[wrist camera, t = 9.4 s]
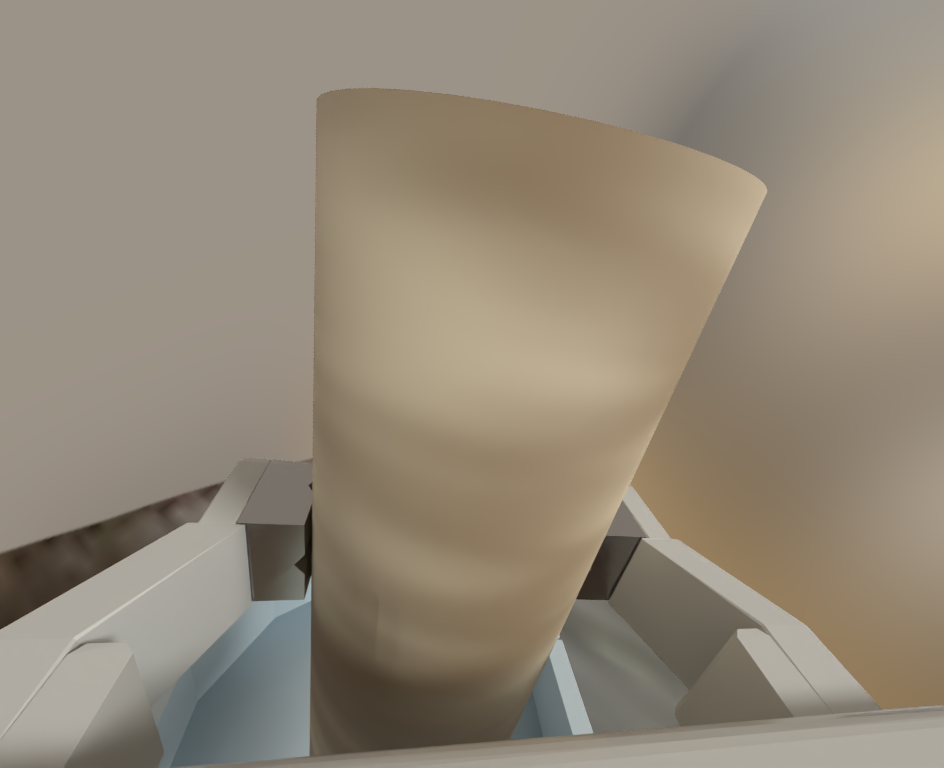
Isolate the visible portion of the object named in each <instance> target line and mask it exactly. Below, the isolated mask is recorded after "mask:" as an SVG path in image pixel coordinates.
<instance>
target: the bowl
mask: <svg viewBox="0 0 944 768" xmlns="http://www.w3.org/2000/svg"><path fill="white" fill-rule="evenodd" d="M559 638H560V636H558V638H557V640H556V642H555V645H554V647H553V649H552V651H551V653H550V655H549V657H548V660H547V662H546V664H545V666H544V668H543V670H542V672H541V674H540V677H539V679H538V681H537V683H536V685H535V687H534V689H533V691H532V694H531V696H530V698H529V700H528V702H527V704H526V706H525V708H524V711H523V713H522V715H521V717H520V719H519V721H518V723H517V726H516V728H515V730H514V732H513V734H512V736H511V738H510V740H516V739H529V738H541V737H554V736H566V735H578V734H591V733H593V731H592V728H591V725H590V722H589V719H588V716H587V713H586V710H585V707H584V704H583V701H582V698H581V695H580V692H579V689H578V686H577V683H576V680H575V677H574V674H573V671H572V668H571V665H570V662H569V659H568V656H567V653H566V650H565V647H564V645H563V642H562V640H559ZM310 661H311V578H310V582H309V585H308V589H307V592H306V596H305V599H304V600H280V601H252V605H251V606H250V607H249V608H248V609H247V610H246V611H245V612H244V613H243V614H242V615H241V616H240V617H239V618H238V619H237V620H236V621H235V622H234V623H233V624H232V625H231V626H230V627H229V628H228V629H227V630H226V631H225V632H224V633H223V634H222V635H221V636H220V637H219V638H218V639H217V640H216V641H215V642H214V643H213V644H212V645H211V646H210V647H209V648H208V649H207V650H206V651H205V652H204V653H203V654H202V655H201V656H200V657H199V658H198V659H197V660H196V661H195V663H194V664H193V665H192V666H191V667H190V668H189V669H188V670H187V671H186V672H185V673H184V674H183V675H182V676H181V677H180V678H179V679H178V680H177V681H176V682H175V683H174V684H173V685H172V686H171V687H170V688H169V689H168V690H167V691H166V692H165V693H164V694H163V695H162V696H161V697H160V698H159V699H158V700H157V701H156V702H155V703H154V704H153V705H152V706H151V707H150V708H151V711H152V714H153V717H154V720H155V724H156V727H157V730H158V733H159V736H160V739H161V742H162V745H163V749H164V752H165V753H164V755H163V757H162V759H161V762H160V764H159V766H158V768H170V767H182V766H195V765H207V764H219V763H232V762H244V761H256V760H269V759H281V758H293V757H306V756H309V752H310Z"/></svg>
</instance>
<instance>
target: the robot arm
mask: <svg viewBox="0 0 944 768" xmlns="http://www.w3.org/2000/svg"><path fill="white" fill-rule="evenodd" d="M312 479H313V463H304V462H292V461H281V460H273V461H272V460H265V459H253V458H244V459H242V460H241V461H239V462H238V463H237V465H236V466H235V468H234V469H233V471H232V472H231V474H230V475H229V477H228V478H227V479H226V481H225V482H224V484H223V485H222V487H221V488H220V490H219V491H218V493H217V494H216V496H215V497H214V499H213V500H212V502H211V503H210V505H209V506H208V508H207V509H206V511H205V512H204V514H203V515H202V517H201V518H200V520H199V521H198V523H186V524H184V525H183V526H181V527H179V528H177V529H176V530H174V531H172V532H170V533H169V534H167V535H165V536H163V537H162V538H160V539H158V540H156V541H155V542H153V543H151V544H149V545H148V546H146V547H144V548H142V549H141V550H139V551H137V552H135V553H134V554H132V555H130V556H128V557H127V558H125V559H123V560H121V561H120V562H118V563H116V564H114V565H113V566H111V567H109V568H107V569H106V570H104V571H102V572H100V573H99V574H97V575H95V576H93V577H92V578H90V579H88V580H86V581H85V582H83V583H81V584H79V585H78V586H76V587H74V588H72V589H71V590H69V591H67V592H65V593H64V594H62V595H60V596H58V597H57V598H55V599H53V600H51V601H50V602H48V603H46V604H44V605H43V606H41V607H39V608H37V609H36V610H34V611H32V612H30V613H29V614H27V615H25V616H23V617H22V618H20V619H18V620H16V621H15V622H13V623H11V624H9V625H8V626H6V627H4V628H2V629H1V630H0V768H158V766H159V764H160V762H161V759H162V757H163V755H164V753H165V752H164V749H163V745H162V742H161V739H160V736H159V733H158V730H157V727H156V724H155V720H154V717H153V714H152V711H151V708H150V707H151V706H152V705H153V704H154V703H155V702H156V701H157V700H158V699H159V698H160V697H161V696H162V695H163V694H164V693H165V692H166V691H167V690H168V689H169V688H170V687H171V686H172V685H173V684H174V683H175V682H176V681H177V680H178V679H179V678H180V677H181V676H182V675H183V674H184V673H185V672H186V671H187V670H188V669H189V668H190V667H191V666H192V665H193V664H194V663H195V661H196V660H197V659H198V658H199V657H200V656H201V655H202V654H203V653H204V652H205V651H206V650H207V649H208V648H209V647H210V646H211V645H212V644H213V643H214V642H215V641H216V640H217V639H218V638H219V637H220V636H221V635H222V634H223V633H224V632H225V631H226V630H227V629H228V628H229V627H230V626H231V625H232V624H233V623H234V622H235V621H236V620H237V619H238V618H239V617H240V616H241V615H242V614H243V613H244V612H245V611H246V610H247V609H248V608H249V607H250V606H251V605H252V601H280V600H304V599H305V596H306V592H307V589H308V585H309V582H310V578H311V570H312ZM576 599H585V600H609V601H608V603H609V604H610V605H611V606H612V607H613V608H614V609H615V610H616V611H617V612H618V614H619V615H620V616H621V617H622V618H623V619H624V620H625V621H626V622H627V623H628V624H629V625H630V626H631V627H632V629H633V630H634V631H635V632H636V633H637V634H638V635H639V636H640V637H641V638H642V639H643V640H644V641H645V643H646V644H647V645H648V646H649V647H650V648H651V649H652V650H653V651H654V652H655V653H656V654H657V655H658V656H659V658H660V659H661V660H662V661H663V662H664V663H665V664H666V665H667V666H668V667H669V668H670V669H671V670H672V671H673V673H674V674H675V675H676V676H677V677H678V678H679V679H680V680H681V681H682V682H683V683H684V684H685V685H686V686H687V688H688V689H689V691H688V692H687V694H686V695H685V696H684V697H683V699H682V700H681V701H680V703H679V704H678V705H677V708H676V711H675V716H676V718H677V720H678V722H679V724H680V726H678V727H665V728H653V729H641V730H628V731H616V732H603V733H591V734H578V735H566V736H554V737H541V738H529V739H516V740H504V741H491V742H479V743H467V744H454V745H442V746H429V747H417V748H404V749H392V750H380V751H367V752H355V753H343V754H330V755H318V756H306V757H293V758H281V759H269V760H256V761H244V762H232V763H219V764H207V765H195V766H182V767H170V768H944V705H938V706H926V707H913V708H902V709H890V710H882V709H881V708H880V706H879V705H878V704H877V703H876V702H875V701H874V700H873V699H872V698H871V696H870V695H869V694H868V693H867V692H866V691H865V690H864V689H863V688H862V686H861V685H860V684H859V683H858V682H857V681H856V680H855V679H854V678H853V677H852V676H851V674H850V673H849V672H848V671H847V670H846V669H845V668H844V667H843V666H842V664H841V663H840V662H839V661H838V660H837V659H836V658H835V657H834V655H833V654H832V653H831V652H830V651H829V650H828V649H827V648H826V647H825V645H824V644H823V643H822V642H821V641H820V640H819V639H818V638H817V637H816V635H815V634H814V633H813V632H812V631H811V630H810V629H809V628H808V627H807V626H806V625H805V624H803V623H802V622H800V621H799V620H797V619H796V618H794V617H793V616H791V615H790V614H788V613H787V612H785V611H784V610H782V609H781V608H779V607H778V606H776V605H775V604H773V603H772V602H770V601H769V600H767V599H766V598H764V597H763V596H761V595H760V594H758V593H757V592H756V591H754V590H752V589H751V588H749V587H748V586H747V585H745V584H744V583H742V582H741V581H739V580H738V579H736V578H735V577H733V576H732V575H730V574H728V573H727V572H726V571H724V570H723V569H721V568H720V567H718V566H717V565H715V564H713V563H712V562H711V561H709V560H708V559H706V558H705V557H703V556H702V555H700V554H699V553H697V552H695V551H694V550H693V549H691V548H690V547H688V546H687V545H685V544H684V543H682V542H681V541H679V540H677V539H671V538H670V537H669V536H668V534H667V533H666V531H665V530H664V529H663V527H662V526H661V525H660V523H659V522H658V521H657V519H656V518H655V517H654V515H653V514H652V513H651V511H650V510H649V509H648V507H647V506H646V505H645V503H644V502H643V500H642V499H641V498H640V496H639V495H638V494H637V492H636V491H635V490H634V488H633V487H632V486H630V485H629V487H628V489H627V491H626V493H625V496H624V498H623V500H622V502H621V504H620V506H619V508H618V510H617V513H616V515H615V517H614V519H613V521H612V523H611V525H610V527H609V530H608V532H607V534H606V536H605V538H604V540H603V542H602V545H601V547H600V549H599V551H598V553H597V555H596V557H595V559H594V562H593V564H592V566H591V568H590V570H589V572H588V574H587V576H586V579H585V581H584V583H583V585H582V587H581V589H580V591H579V593H578V596H577V598H576Z"/></svg>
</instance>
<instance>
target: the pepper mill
mask: <svg viewBox="0 0 944 768" xmlns="http://www.w3.org/2000/svg"><path fill="white" fill-rule="evenodd" d="M316 117H317V118H316V208H315V298H314V299H315V303H314V304H315V305H314V390H313V391H314V392H313V393H314V394H313V396H314V397H313V479H312V570H311V661H310V752H309V756H318V755H330V754H343V753H355V752H367V751H380V750H392V749H404V748H417V747H429V746H442V745H454V744H467V743H479V742H491V741H504V740H510V738H511V736H512V734H513V732H514V730H515V728H516V726H517V723H518V721H519V719H520V717H521V715H522V713H523V711H524V708H525V706H526V704H527V702H528V700H529V698H530V696H531V694H532V691H533V689H534V687H535V685H536V683H537V681H538V679H539V677H540V674H541V672H542V670H543V668H544V666H545V664H546V662H547V660H548V657H549V655H550V653H551V651H552V649H553V647H554V645H555V642H556V640H557V638H558V636H559V634H560V632H561V630H562V628H563V625H564V623H565V621H566V619H567V617H568V615H569V613H570V611H571V608H572V606H573V604H574V602H575V600H576V598H577V596H578V593H579V591H580V589H581V587H582V585H583V583H584V581H585V579H586V576H587V574H588V572H589V570H590V568H591V566H592V564H593V562H594V559H595V557H596V555H597V553H598V551H599V549H600V547H601V545H602V542H603V540H604V538H605V536H606V534H607V532H608V530H609V527H610V525H611V523H612V521H613V519H614V517H615V515H616V513H617V510H618V508H619V506H620V504H621V502H622V500H623V498H624V496H625V493H626V491H627V489H628V487H629V485H630V483H631V480H632V478H633V476H634V474H635V472H636V470H637V468H638V466H639V463H640V461H641V459H642V457H643V455H644V453H645V451H646V449H647V447H648V444H649V442H650V440H651V438H652V436H653V433H654V432H655V429H656V427H657V425H658V423H659V421H660V419H661V416H662V415H663V412H664V410H665V408H666V406H667V404H668V402H669V400H670V398H671V395H672V393H673V391H674V389H675V387H676V385H677V383H678V381H679V378H680V376H681V374H682V372H683V370H684V368H685V366H686V363H687V361H688V359H689V357H690V355H691V353H692V351H693V349H694V346H695V344H696V342H697V340H698V338H699V336H700V334H701V331H702V329H703V327H704V325H705V323H706V321H707V319H708V317H709V314H710V312H711V310H712V308H713V306H714V304H715V301H716V300H717V297H718V295H719V293H720V291H721V289H722V287H723V285H724V282H725V280H726V278H727V276H728V274H729V272H730V270H731V268H732V265H733V263H734V261H735V259H736V257H737V255H738V253H739V251H740V248H741V246H742V244H743V242H744V240H745V238H746V236H747V233H748V231H749V229H750V227H751V225H752V222H753V220H754V219H755V217H756V214H757V212H758V210H759V208H760V206H761V204H762V202H763V199H764V197H765V195H766V193H767V189H766V186H765V184H764V183H762V182H761V181H760V180H759V179H758V178H756V177H755V176H753V175H752V174H750V173H748V172H746V171H744V170H743V169H741V168H739V167H737V166H734V165H732V164H730V163H727V162H725V161H723V160H720V159H718V158H716V157H713V156H711V155H708V154H705V153H702V152H699V151H696V150H694V149H691V148H688V147H685V146H682V145H679V144H676V143H672V142H669V141H666V140H662V139H659V138H656V137H652V136H649V135H645V134H642V133H639V132H635V131H631V130H627V129H623V128H619V127H615V126H611V125H608V124H603V123H600V122H596V121H592V120H586V119H582V118H578V117H573V116H568V115H564V114H559V113H555V112H550V111H546V110H541V109H535V108H530V107H524V106H519V105H513V104H508V103H502V102H497V101H491V100H484V99H477V98H470V97H463V96H457V95H450V94H441V93H431V92H422V91H411V90H398V89H379V88H359V89H342V90H335V91H330V92H327V93H324V94H321V95H320V96H319V97H318V98H317V115H316Z"/></svg>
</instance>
